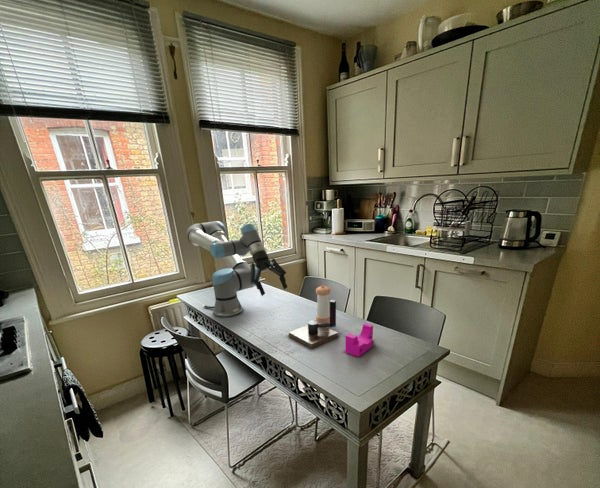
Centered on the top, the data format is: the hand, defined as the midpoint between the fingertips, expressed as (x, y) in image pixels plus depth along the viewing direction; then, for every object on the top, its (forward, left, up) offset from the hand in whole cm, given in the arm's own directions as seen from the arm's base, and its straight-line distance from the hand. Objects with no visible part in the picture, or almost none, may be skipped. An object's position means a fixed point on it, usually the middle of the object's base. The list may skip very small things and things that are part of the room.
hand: (274, 291), depth 157 cm
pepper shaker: (+20, +14, -6) cm, 25 cm away
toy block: (+49, +9, -16) cm, 52 cm away
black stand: (+30, +4, -13) cm, 33 cm away
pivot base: (+27, +1, -15) cm, 31 cm away
